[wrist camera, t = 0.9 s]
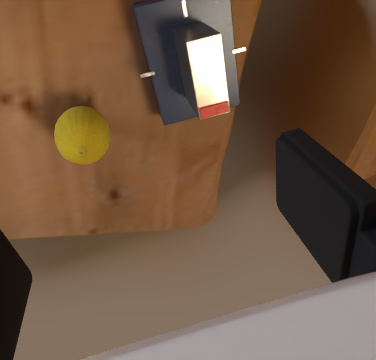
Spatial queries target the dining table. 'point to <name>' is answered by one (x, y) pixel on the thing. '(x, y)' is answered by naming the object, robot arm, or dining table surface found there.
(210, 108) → the handle
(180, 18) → the handle panel
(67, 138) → the lemon
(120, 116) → the dining table surface
